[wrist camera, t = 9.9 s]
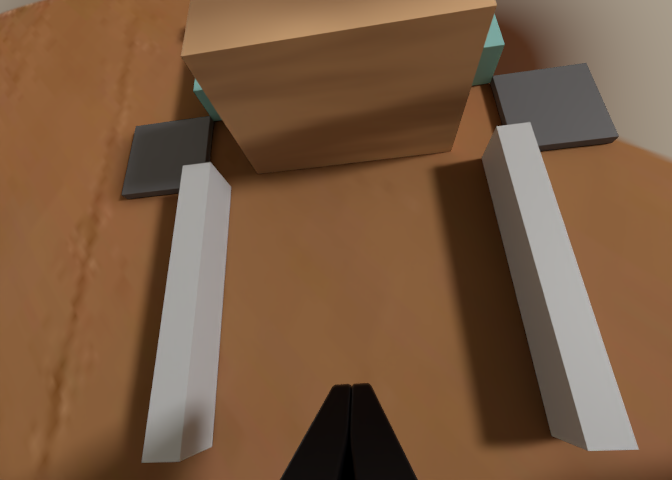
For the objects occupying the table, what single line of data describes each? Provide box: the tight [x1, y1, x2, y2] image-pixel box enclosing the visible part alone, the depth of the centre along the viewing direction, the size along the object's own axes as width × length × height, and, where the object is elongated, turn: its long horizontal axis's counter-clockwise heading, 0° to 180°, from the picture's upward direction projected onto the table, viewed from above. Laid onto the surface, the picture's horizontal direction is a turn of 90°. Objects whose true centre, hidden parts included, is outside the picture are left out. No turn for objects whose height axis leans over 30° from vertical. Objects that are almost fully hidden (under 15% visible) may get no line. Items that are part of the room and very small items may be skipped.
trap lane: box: [122, 14, 639, 463], centre depth 17 cm, size 28×27×3 cm
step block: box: [181, 0, 497, 174], centre depth 17 cm, size 11×11×8 cm
